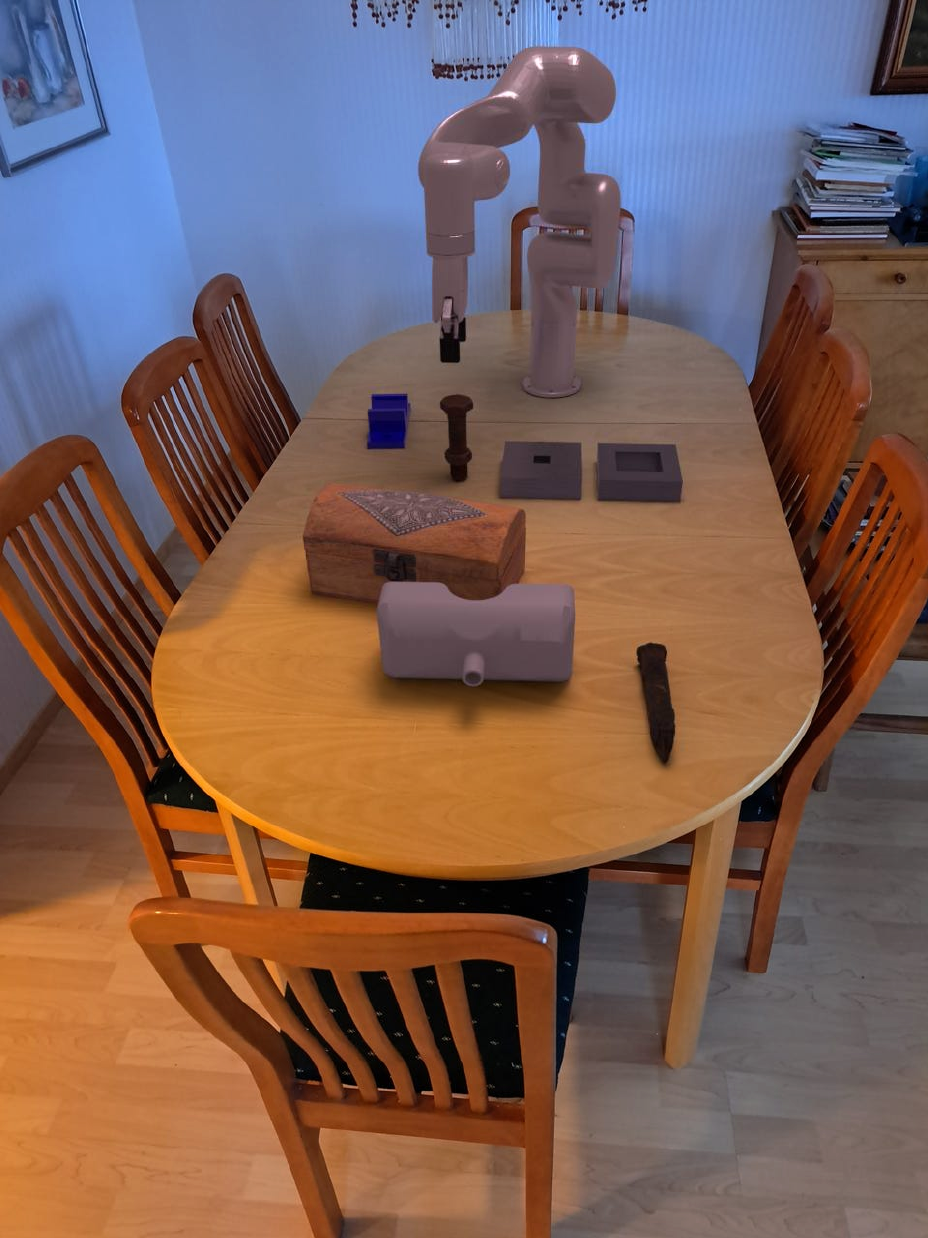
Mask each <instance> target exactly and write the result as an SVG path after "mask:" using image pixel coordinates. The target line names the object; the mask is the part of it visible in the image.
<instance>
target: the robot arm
mask: <svg viewBox="0 0 928 1238" xmlns="http://www.w3.org/2000/svg"><path fill="white" fill-rule="evenodd" d="M616 97H617V88H616V82H615V79H614V76H613V74H612V72H611V70H610V69H609V68H608V67H607V66H606V65H605V64H604V63H603V62H602V61H600V59H598V57H596V56H595V55H594V54H593V53H591V52H590V51H588V50H586V49H583V48H581V47H577V46H541V45H539V46H536V45H535V46H529V47H525V48H523V49H521V50H520V51H519V52H517V53H516V54H515V55H514V56H513V57H512V59H511V61H510V62H509V64H508V65H507V67H506V68H505V70H504V71H503V73H501V76H500V77H499V78H498V80H497V82H496V83H495V84H494V86H493V87H492V89H491V90H490V92H489V94H488V95H487V96H484V97H482V98H480V99H478V100H476V101H474V102H472V103H470V104H468V105H466V106H464V107H463V108H461V109H458V110H457V111H456V112H454V113H452V114H450V115H449V116H447V117H446V118H445V119H443V120H442V121H441V122H440V123H439V124H438V125H437V126H436V128H435V129H434V130H433V132H432V133H431V135H430V136H429V137H428V139H427V140H426V143H425V144H424V146H423V148H422V150H421V153H420V156H419V160H418V164H417V175H418V180H419V182H420V184H421V186H422V187H423V192H424V193H423V195H424V217H425V221H424V222H425V241H426V246H425V247H426V255H427V256H429V257H432V266H431V267H432V269H431V271H432V272H431V287H432V288H431V291H432V292H431V296H432V297H431V299H432V306H431V308H432V313H431V314H432V321H433V323H435V324H436V323H438V322H439V321H440V331H439V333H440V335H439V360H440V363H442V364H446V363H447V364H459V363H460V362H461V343H465V342H466V340H467V321H466V320H467V318H466V317H465V315H466V311H467V308H468V297H469V296H468V295H469V293H468V292H469V272H468V271H469V264H468V263H469V262H468V261H469V260H468V257H472V256H473V255H474V254H475V253H476V239H475V238H476V237H475V235H476V234H475V231H476V230H475V228H476V225H475V223H476V222H475V218H476V217H475V202H477V201H478V202H479V201H487V200H488V201H489V200H492V199H494V198H496V197H499V195H501V194H502V193H503V191H504V190H505V189H506V187H507V185H508V182H509V180H510V176H511V164H510V161H509V159H508V156H507V155H506V153H505V152H504V151H503V150H502V149H500V148H504V147H506V146H509V145H513V144H516V143H519V142H520V141H521V140H523V139H525V137H527V136H528V134H529V133H530V131H531V129H532V127H534V129H535V131H536V135H537V137H538V142H539V167H538V184H537V185H538V187H537V189H538V191H537V211H538V215H539V218H540V220H541V221H543V222H544V223H546V224H549V225H554V226H561V227H570V228H578V229H579V228H580V229H587V230H588V231H589V235H587V234H576V233H570V232H569V233H568V232H559V231H558V232H557V231H548V232H546V231H545V232H542V233H540V234H538V235H536V236H534V237H533V238H532V239H531V241H530V242H529V243H528V244H529V245H528V246H527V251H526V264H527V269H528V270H527V272H528V277H529V284H530V303H531V304H530V342H529V343H530V345H529V346H530V351H529V352H530V353H529V356H530V357H529V374H528V375H527V376H525V377H524V379H522V388H523V390H524V391H525V392H527V393H528V394H530V395H532V396H535V397H541V398H551V399H552V398H563V397H564V398H565V397H568V396H571V395H574V394H576V393H577V392H578V391H579V390H580V389H581V386H582V381H581V379H580V378H579V377H578V376H577V375H575V366H576V363H575V361H576V344H577V343H576V342H577V341H576V340H577V322H578V304H577V303H578V302H577V299H576V296H575V294H574V292H573V290H572V288H571V287H577V288H584V289H603V288H604V287H605V288H606V286H607V285H609V284H610V282H611V281H612V278H613V275H614V271H615V264H616V258H617V257H616V255H617V249H618V248H617V247H618V237H619V236H618V235H619V228H620V227H619V226H620V217H621V216H620V215H621V199H622V198H621V190H620V186H619V183H618V181H617V179H615V178H614V177H612V176H611V175H608V174H605V173H594V172H593V173H592V172H586V170H585V164H586V163H585V158H586V139H585V136H584V133H583V131H582V129H581V127H580V125H579V124H580V123H581V124H600V123H602V122H604V121H606V120H607V119H608V118H609V116H610V115H611V114H612V111H613V110H614V107H615V103H616ZM578 123H579V124H578Z"/></svg>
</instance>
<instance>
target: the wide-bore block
mask: <svg viewBox="0 0 928 1238" xmlns="http://www.w3.org/2000/svg"><path fill="white" fill-rule="evenodd" d="M596 449H597V450H596V451H597V452H596V461H595V462H596V464H595V465H596V482H597V484H596V485H597V501H611V502H612V501H613V502H615V501H617V502H618V501H619V502H651V503H653V502H655V503H656V502H658V503H660V502H661V503H663V502H664V503H681V500H682V499H681V498H682V489H683V483H684V481H683V480H684V479H683V475H682V471H681V465H680V460H679V456H678V450H677V446H676V444H675V443H670V444H669V443H667V444H666V443H662V444H661V443H628V442H627V443H626V442H625V443H624V442H623V443H619V442H617V443H616V442H597V448H596Z"/></svg>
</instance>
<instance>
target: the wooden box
mask: <svg viewBox="0 0 928 1238" xmlns="http://www.w3.org/2000/svg"><path fill="white" fill-rule="evenodd" d="M526 522H527V519H526V511H525V510H524V508H521V507H518V506H517V507H516V506H510V505H503V504H496V503H491V502H490V503H488V502H480V501H475V500H473V501H472V500H466V499H464V500H463V499H457V498H452V497H446V496H441V495H437V494H431V493H425V492H414V491H413V492H409V491H402V490H401V491H400V490H390V489H384V488H376V487H375V488H374V487H366V486H358V485H357V486H356V485H349V484H348V485H347V484H341V483H333V482H331V483H328V484H326V485H325V486H324V487H323V488H322V489H320V490H319V492H318V493H317V494H316V496H315V498H314V500H313V502H312V504H311V506H310V510H309V514H308V515H307V519H306V521H305V524H304V530H303V534H302V539H303V540H302V541H303V549H304V551H305V552H304V554H305V560H306V567H307V572H308V577H309V578H308V579H309V585H310V591H311V595H313V596H320V597H326V598H332V599H333V598H334V599H339V600H347V601H354V602H361V603H366V604H374V605H378V602H379V598H380V594H381V590H382V586H383V585H384V584H385V583H387V582H438V583H442V584H444V585H446V586H447V588H448V590H449V591H450V592H451V593H452V594H454V595H455V596H457V597H459V598H462V599H466V600H486V599H490V598H493V597H496V596H498V595H499V594H501V593H502V592H503V591H504V590H505V589H506V587H508V586H509V585H512V584H520V580H521V578H522V577H523V576H522V575H523V574H524V572H525V566H526V541H527V540H526V538H527V537H526V535H527V533H526V531H527V527H526Z"/></svg>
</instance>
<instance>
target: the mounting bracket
mask: <svg viewBox="0 0 928 1238" xmlns="http://www.w3.org/2000/svg"><path fill="white" fill-rule="evenodd" d="M370 398H371V408H368V409H367V418H368V419H367V420H368V429H369V432H368V436H367V437H368V438H367V442H366V447H367V450H389V449H390V450H392V449H393V450H395V449H396V450H397V449H398V450H399V449H402V450H403V449H406V441H407V436H408V430H409V422H410V417H411V411H412V409H411V403H409V395H408V393H372V394H371V397H370Z"/></svg>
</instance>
